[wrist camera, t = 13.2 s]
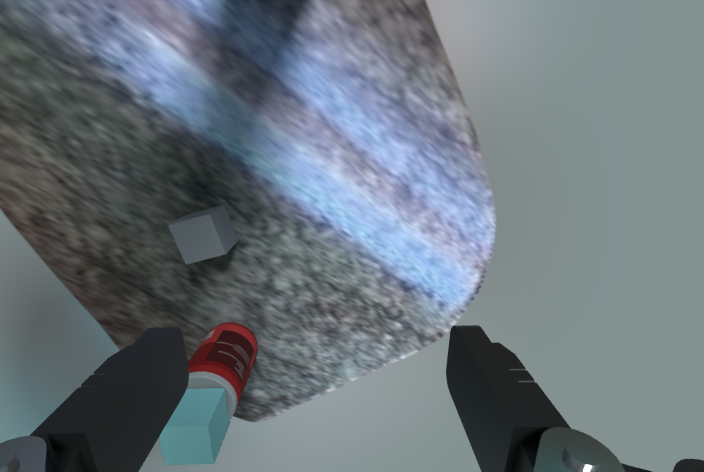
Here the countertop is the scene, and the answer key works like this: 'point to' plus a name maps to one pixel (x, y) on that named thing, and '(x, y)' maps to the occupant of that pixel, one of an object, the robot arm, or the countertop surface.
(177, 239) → the slate block
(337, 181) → the countertop surface
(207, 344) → the canned food
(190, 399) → the teal block
